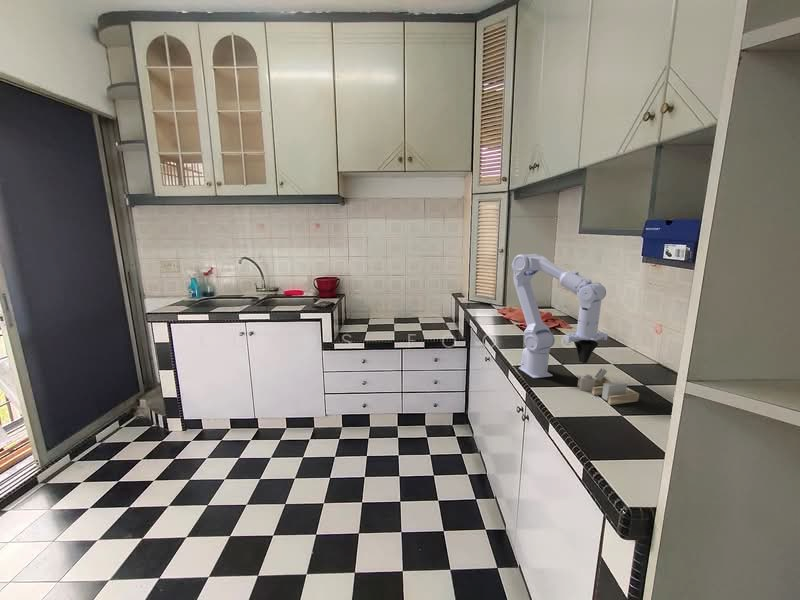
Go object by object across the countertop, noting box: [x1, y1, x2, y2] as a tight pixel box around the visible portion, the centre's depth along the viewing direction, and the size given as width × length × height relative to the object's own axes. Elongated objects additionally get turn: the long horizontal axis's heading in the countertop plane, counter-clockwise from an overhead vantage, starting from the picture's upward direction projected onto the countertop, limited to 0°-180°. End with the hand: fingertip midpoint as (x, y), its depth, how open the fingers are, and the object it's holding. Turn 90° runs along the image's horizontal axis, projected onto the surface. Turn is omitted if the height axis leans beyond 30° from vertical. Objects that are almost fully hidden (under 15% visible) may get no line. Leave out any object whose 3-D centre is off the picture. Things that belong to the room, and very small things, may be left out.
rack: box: [577, 375, 640, 406], centre depth 112 cm, size 13×11×2 cm
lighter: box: [578, 367, 608, 393], centre depth 114 cm, size 7×2×8 cm, turn 79°
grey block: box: [601, 380, 628, 402], centre depth 109 cm, size 2×7×5 cm, turn 105°
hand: (583, 362), depth 112 cm, fingers closed
